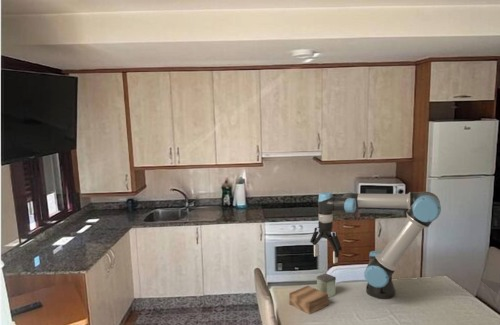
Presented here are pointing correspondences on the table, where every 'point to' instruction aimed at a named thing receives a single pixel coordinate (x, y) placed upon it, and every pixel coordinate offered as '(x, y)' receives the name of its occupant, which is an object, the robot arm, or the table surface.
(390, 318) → the table surface
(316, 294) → the block
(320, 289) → the tea tin
